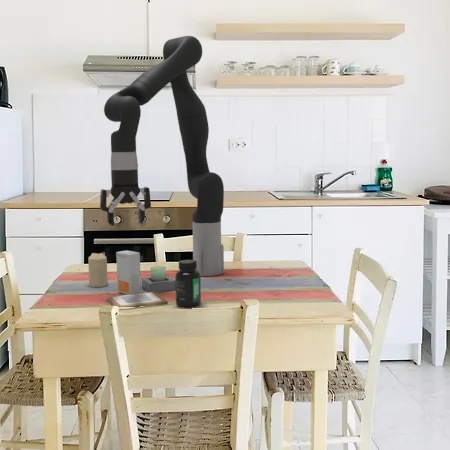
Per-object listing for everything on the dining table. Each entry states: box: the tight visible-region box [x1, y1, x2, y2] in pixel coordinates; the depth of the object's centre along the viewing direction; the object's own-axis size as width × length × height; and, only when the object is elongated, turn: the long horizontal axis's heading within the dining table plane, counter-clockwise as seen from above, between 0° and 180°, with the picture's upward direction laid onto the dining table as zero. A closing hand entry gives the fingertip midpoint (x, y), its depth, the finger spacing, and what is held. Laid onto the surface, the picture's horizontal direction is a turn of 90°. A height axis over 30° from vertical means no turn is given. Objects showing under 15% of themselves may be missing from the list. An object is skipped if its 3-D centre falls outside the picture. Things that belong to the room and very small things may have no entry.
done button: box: [150, 265, 167, 282], centre depth 198 cm, size 4×4×4 cm
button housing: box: [141, 274, 176, 294], centre depth 199 cm, size 8×8×3 cm
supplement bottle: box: [174, 259, 202, 309], centre depth 180 cm, size 7×7×12 cm
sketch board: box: [105, 291, 169, 307], centre depth 185 cm, size 14×12×1 cm
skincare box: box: [115, 250, 142, 295], centre depth 194 cm, size 6×4×12 cm
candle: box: [87, 252, 108, 288], centre depth 204 cm, size 6×6×10 cm
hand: (126, 224), depth 192 cm, fingers open, 8 cm apart
